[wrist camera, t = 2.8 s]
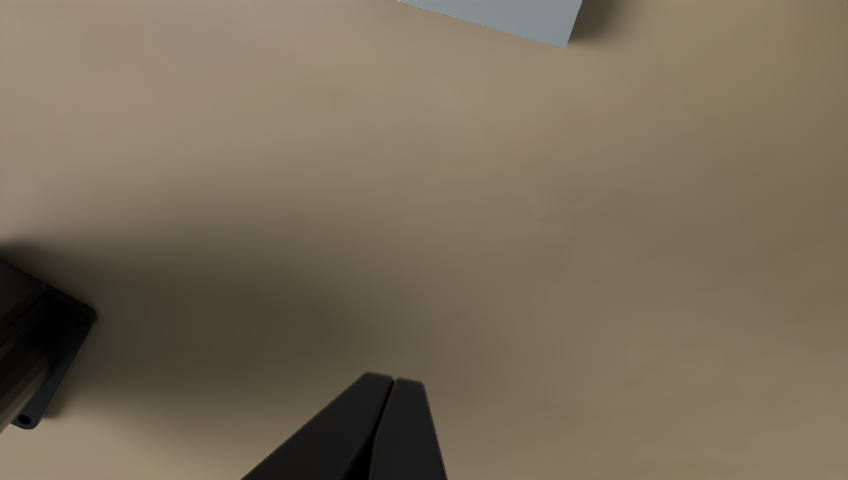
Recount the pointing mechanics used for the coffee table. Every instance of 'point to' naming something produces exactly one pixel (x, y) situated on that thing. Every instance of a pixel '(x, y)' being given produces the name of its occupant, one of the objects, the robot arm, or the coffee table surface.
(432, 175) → the coffee table surface
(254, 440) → the coffee table surface
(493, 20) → the plate
